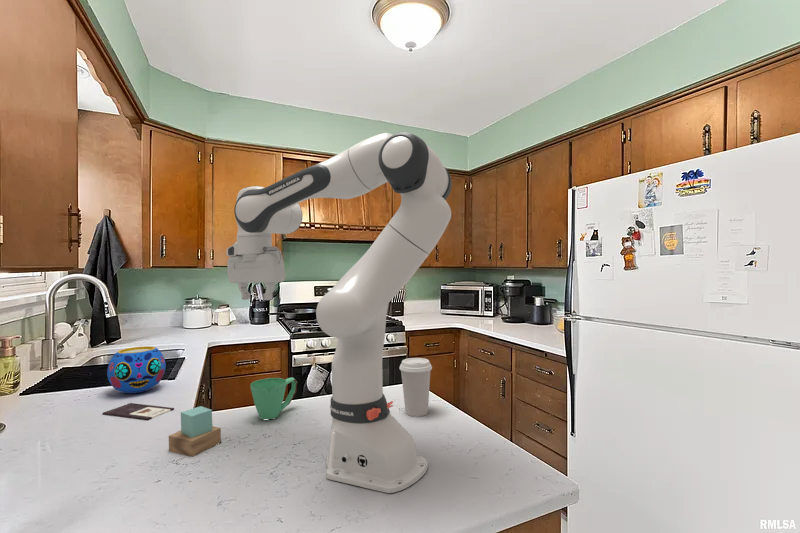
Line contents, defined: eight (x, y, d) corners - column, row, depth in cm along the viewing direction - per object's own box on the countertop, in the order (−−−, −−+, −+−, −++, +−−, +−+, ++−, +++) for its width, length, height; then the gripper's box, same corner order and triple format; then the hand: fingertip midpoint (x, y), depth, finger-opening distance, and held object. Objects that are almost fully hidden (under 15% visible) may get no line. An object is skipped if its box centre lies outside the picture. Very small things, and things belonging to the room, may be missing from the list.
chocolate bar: (130, 403, 129) (174, 408, 124) (130, 405, 129) (174, 411, 124) (102, 412, 121) (147, 418, 115) (102, 415, 121) (147, 422, 115)
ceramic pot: (108, 403, 131) (106, 357, 131) (107, 390, 146) (106, 349, 146) (169, 392, 142) (168, 349, 142) (163, 381, 156) (162, 342, 156)
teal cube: (212, 430, 98) (211, 409, 98) (191, 437, 94) (191, 416, 94) (201, 425, 101) (201, 406, 101) (181, 433, 97) (180, 412, 97)
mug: (265, 426, 109) (264, 389, 109) (244, 419, 115) (243, 384, 115) (307, 410, 121) (306, 377, 121) (286, 404, 126) (285, 372, 126)
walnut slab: (221, 443, 100) (220, 427, 99) (192, 458, 92) (192, 441, 92) (198, 438, 103) (197, 423, 103) (169, 452, 95) (168, 435, 95)
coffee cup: (396, 417, 113) (395, 364, 113) (404, 405, 122) (403, 356, 122) (430, 419, 111) (429, 365, 111) (435, 407, 120) (434, 357, 120)
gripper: (290, 246, 105) (292, 299, 105) (242, 250, 116) (244, 298, 116) (269, 245, 99) (272, 301, 99) (222, 250, 111) (224, 300, 111)
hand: (256, 299), depth 108 cm, fingers open, 8 cm apart
